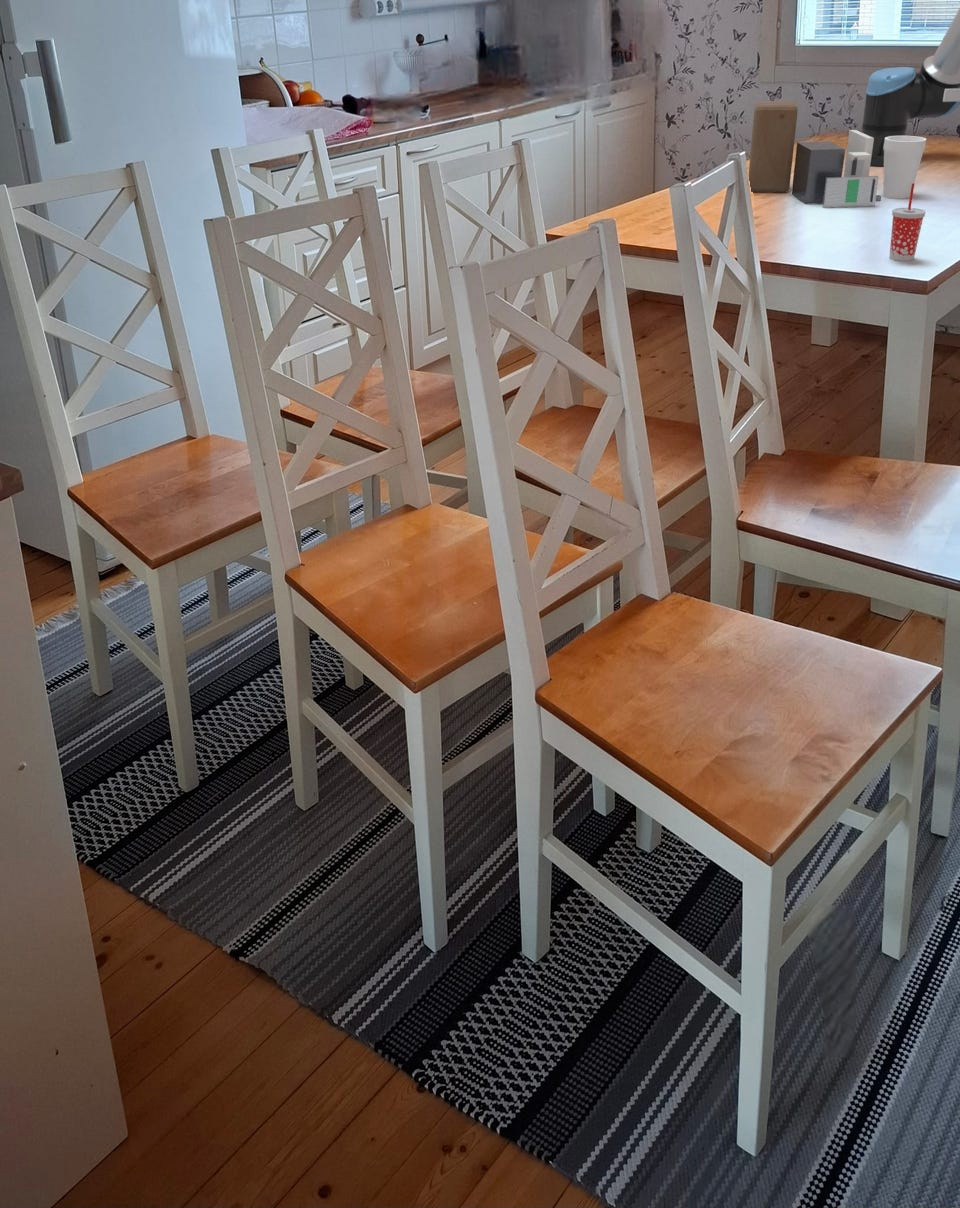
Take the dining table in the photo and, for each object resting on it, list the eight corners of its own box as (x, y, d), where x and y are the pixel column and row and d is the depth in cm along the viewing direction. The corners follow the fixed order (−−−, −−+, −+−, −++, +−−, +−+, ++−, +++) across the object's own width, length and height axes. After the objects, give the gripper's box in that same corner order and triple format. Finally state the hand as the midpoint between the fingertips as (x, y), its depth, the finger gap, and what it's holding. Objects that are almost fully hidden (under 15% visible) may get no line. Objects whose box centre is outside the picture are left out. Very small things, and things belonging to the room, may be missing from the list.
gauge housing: (866, 192, 287) (873, 140, 281) (889, 205, 273) (898, 151, 267) (791, 194, 287) (797, 142, 281) (811, 208, 272) (817, 153, 266)
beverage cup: (909, 263, 226) (922, 187, 219) (879, 258, 230) (890, 184, 223) (923, 257, 230) (935, 182, 223) (893, 252, 234) (904, 179, 227)
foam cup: (888, 190, 288) (897, 134, 282) (924, 195, 282) (933, 138, 276) (869, 196, 282) (877, 139, 276) (905, 201, 277) (914, 143, 270)
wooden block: (789, 193, 288) (798, 105, 278) (747, 192, 290) (755, 105, 280) (787, 185, 296) (796, 100, 286) (747, 185, 298) (755, 100, 288)
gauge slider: (848, 186, 287) (855, 129, 280) (871, 200, 272) (879, 140, 266) (826, 187, 287) (833, 130, 280) (848, 201, 272) (855, 141, 266)
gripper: (1067, 124, 263) (973, 126, 262) (1018, 106, 284) (932, 108, 284) (1075, 88, 259) (981, 90, 258) (1025, 73, 280) (938, 74, 280)
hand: (955, 99), depth 271 cm, fingers open, 13 cm apart
